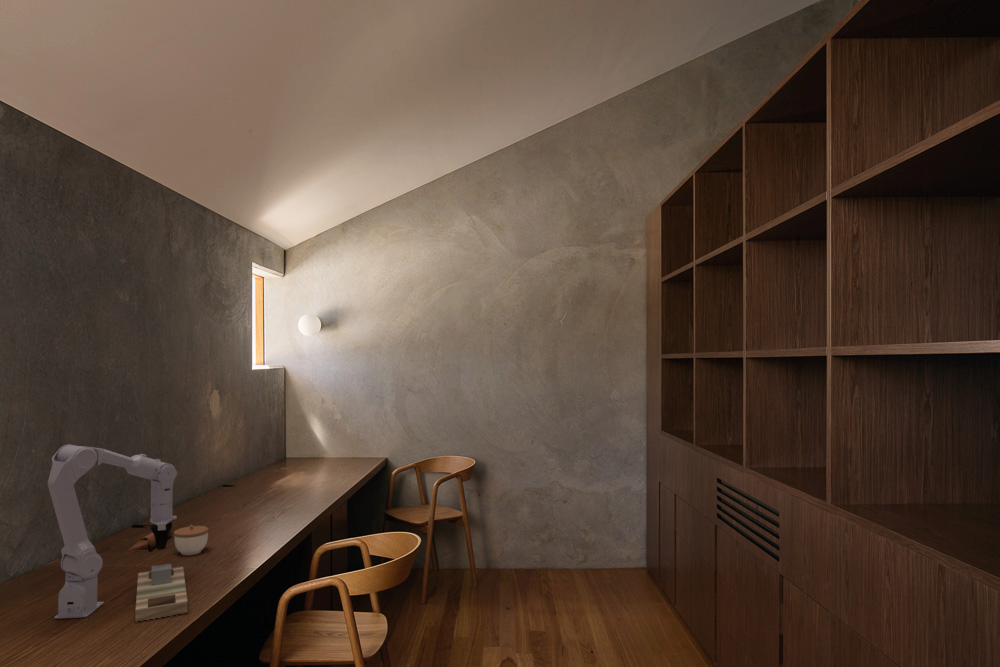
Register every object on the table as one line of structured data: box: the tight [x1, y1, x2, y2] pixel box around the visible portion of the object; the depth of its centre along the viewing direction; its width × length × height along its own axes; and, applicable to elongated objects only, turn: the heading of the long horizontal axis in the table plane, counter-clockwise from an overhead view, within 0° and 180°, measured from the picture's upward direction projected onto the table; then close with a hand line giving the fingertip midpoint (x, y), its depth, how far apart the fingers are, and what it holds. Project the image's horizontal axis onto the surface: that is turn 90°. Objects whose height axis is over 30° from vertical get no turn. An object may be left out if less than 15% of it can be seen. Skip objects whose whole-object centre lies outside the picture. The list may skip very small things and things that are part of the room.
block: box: [151, 563, 172, 586], centre depth 186 cm, size 5×5×4 cm
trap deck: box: [134, 565, 189, 623], centre depth 182 cm, size 32×12×3 cm, turn 28°
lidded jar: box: [173, 524, 209, 556], centre depth 223 cm, size 11×11×9 cm
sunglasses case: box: [128, 529, 173, 551], centre depth 232 cm, size 18×7×7 cm
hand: (161, 548), depth 193 cm, fingers closed
